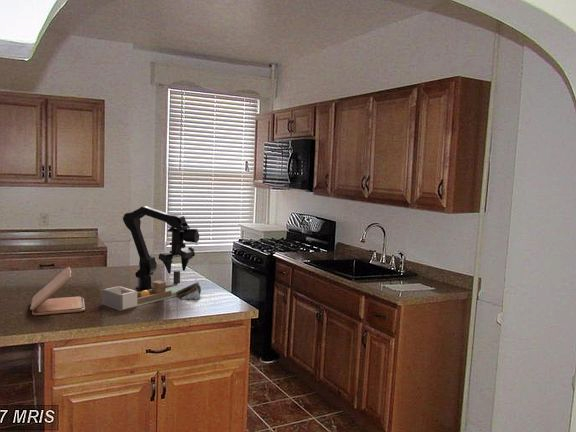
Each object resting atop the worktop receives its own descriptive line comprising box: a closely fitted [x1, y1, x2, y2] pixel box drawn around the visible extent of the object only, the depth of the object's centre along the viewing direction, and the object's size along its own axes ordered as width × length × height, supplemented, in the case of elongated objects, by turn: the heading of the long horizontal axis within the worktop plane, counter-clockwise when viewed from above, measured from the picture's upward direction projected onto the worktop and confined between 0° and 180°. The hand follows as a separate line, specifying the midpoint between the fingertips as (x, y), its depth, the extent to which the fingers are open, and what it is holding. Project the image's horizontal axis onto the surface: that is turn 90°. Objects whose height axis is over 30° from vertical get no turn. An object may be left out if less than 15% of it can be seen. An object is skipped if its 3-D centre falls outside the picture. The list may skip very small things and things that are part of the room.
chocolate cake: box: [176, 281, 202, 301], centre depth 236 cm, size 10×7×12 cm
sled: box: [151, 270, 181, 294], centre depth 240 cm, size 5×15×10 cm, turn 144°
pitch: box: [102, 286, 181, 312], centre depth 232 cm, size 13×40×3 cm, turn 144°
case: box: [29, 266, 86, 316], centre depth 212 cm, size 20×21×16 cm
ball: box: [140, 289, 150, 297], centre depth 230 cm, size 4×4×4 cm
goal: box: [101, 285, 138, 311], centre depth 219 cm, size 13×9×6 cm
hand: (176, 272), depth 244 cm, fingers open, 9 cm apart
